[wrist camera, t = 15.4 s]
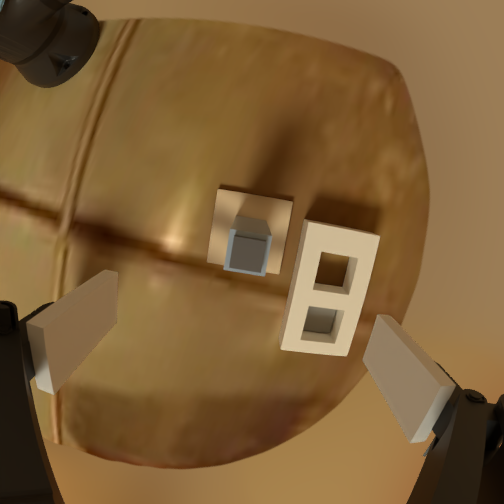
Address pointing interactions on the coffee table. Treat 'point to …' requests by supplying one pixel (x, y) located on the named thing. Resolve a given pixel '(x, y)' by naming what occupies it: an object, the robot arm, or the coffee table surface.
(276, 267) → the pad
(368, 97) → the coffee table surface
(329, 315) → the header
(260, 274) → the plug
